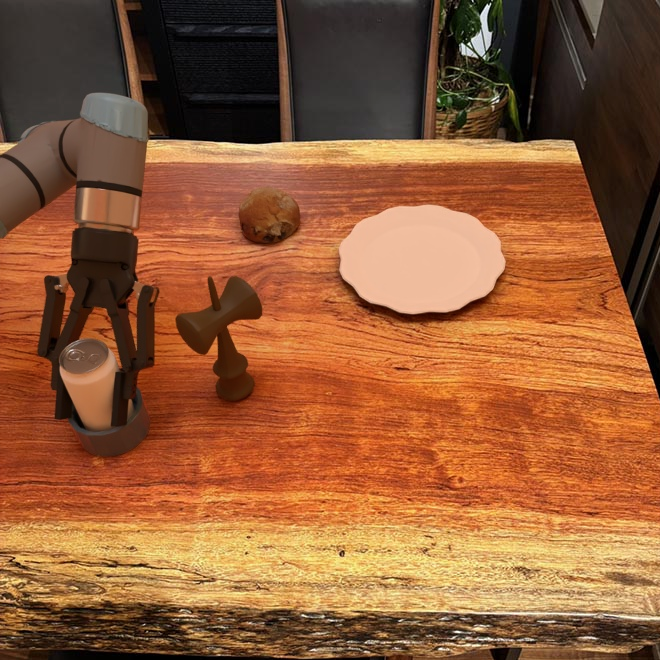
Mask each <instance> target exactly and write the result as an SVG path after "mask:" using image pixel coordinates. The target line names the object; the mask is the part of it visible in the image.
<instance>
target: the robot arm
mask: <svg viewBox="0 0 660 660" xmlns="http://www.w3.org/2000/svg"><path fill="white" fill-rule="evenodd" d="M79 116H80V117H79V118H76V119H67V120H57V121H56V120H51V121H43V122H40V123H39V124H36V125H33V126H30V127H29V128H27V129H25V131H24V132H23V133H22V134H21V136H20V137H19V140H18V142H17V144H15V145H13V146H12V147H11V148H9V149H8V150H6V151H4V152H3V153H1V154H0V239H1V240H2V239H4V238H6V237H7V235H8V234H9V233H10V232H11V231H13V230H14V229H16V228H17V227H18V226H19V225H21V224H23V223H24V222H25V221H27V220H28V219H29V218H30V217H32V216H34V215H35V214H36V213H38V212H39V211H40V210H43V209H44V208H46V207H47V206H49V204H51V203H53V202H54V201H56V200H57V199H58V198H60V197H61V196H62V195H64V194H65V193H67V192H68V191H69V190H71V189H72V188H74V187H75V195H74V196H75V197H74V207H73V218H72V222H73V223H75V224H76V225H77V227H75V228H74V229H73V230H72V232H71V243H70V244H71V245H70V260H71V264H70V267H69V269H67V272H66V273H65V274H59V275H51V274H47V275H45V276H44V278H43V283H44V289H45V300H44V307H43V313H42V319H41V325H40V331H39V337H38V344H37V349H36V354H37V356H38V357H39V358H44V359H46V360H48V361H49V363H51V375H50V376H51V377H50V388H51V391H55V403H54V405H55V406H54V417H53V420H55V421H56V420H57V421H61V420H68V418H72V407H73V401H72V399H71V397H70V395H69V392H68V390H67V388H66V386H65V384H64V382H63V379H62V377H61V374H60V363H59V357H60V354H61V352H62V351H63V350H64V349H65V348H66V347H67V346H68V345H69V344H71V343H73V342H75V341H77V340H80V339H81V336H82V333H83V330H84V328H85V326H86V323H87V321H88V319H89V316H90V315H91V314H92V313H93V312H94V309H99V308H100V309H103V310H106V314H107V316H108V317H109V320H110V323H111V327H112V331H113V336H114V340H115V345H116V349H117V354H118V358H119V362H120V367H121V368H120V369H119V370H120V372H115V380H114V392H113V404H112V416H111V426H112V427H119V426H123V425H127V415H128V403H129V399H134V398H135V396H136V389H137V387H138V376H139V373H140V372H141V371H143V370H147V369H152V368H153V367H154V366H155V364H156V347H155V346H156V305H157V304H156V303H157V301H158V298H159V295H160V288H159V287H158V286H156V285H149V284H146V283H144V282H141V281H139V278H138V275H137V272H136V268H137V264H138V253H139V241H140V239H139V238H138V236H137V235H135V233H136V232H139V230H140V228H141V213H142V200H143V192H144V180H145V170H146V162H147V151H148V143H149V136H148V128H149V127H148V125H149V124H148V123H149V112H148V109H147V107H146V106H145V105H144V104H143V103H141V102H140V101H138V100H136V99H134V98H131V97H128V96H125V95H122V94H121V95H120V94H116V93H109V92H91V93H88V94H86V96H85V98H84V99H83V101H82V106H81V110H80V111H79ZM69 286H70V287H71V288H70V287H69ZM69 289H72V291H73V293H74V295H73V297H72V300H71V302H70V305H69V312H68V314H67V315H68V316H67V317H66V320H65V323H64V325H63V324H62V323H63V318H64V312H65V306H66V300H67V297H66V296H67V294H66V293H67V292H68V291H69ZM133 292H135V295H134V296H135V300H136V301H137V303H136V342H135V338H134V334H133V330H132V325H131V321H130V309H129V308H130V307H129V305H128V299H129V297H130V296H131V295H132V294H133ZM62 325H63V328H62Z"/></svg>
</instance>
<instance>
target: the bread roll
mask: <svg viewBox="0 0 660 660" xmlns="http://www.w3.org/2000/svg"><path fill="white" fill-rule="evenodd" d="M238 206H239V207H238V220H239V225H240V226H239V227H240V230H241V232H242V234H243V235H244V236H245V237H246V238H248V240H250V241H251V242H252V241H253V242H255V243H264V244H271V243H274V244H275V243H277V242H280V241H284V239H287V238H288V237H289V236H291V235H292V234H293V233H294V232H295V231H296V230H297V229H298V227H299V226H300V224H301V213H300V206H299V204H298V202H297V201H296V200H295V198H294V197H293V196H291V195H290V194H289V193H287V191H284V190H283V189H279V188H276V187H270V186H265V187H264V186H263V187H258V188H254V189H252V190H251V191H250V192H249V193H248V194H247V195H246V196H245V198H244V199H243V200H242V201H241V202H240V204H239V205H238Z"/></svg>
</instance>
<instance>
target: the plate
mask: <svg viewBox="0 0 660 660" xmlns="http://www.w3.org/2000/svg"><path fill="white" fill-rule="evenodd" d="M337 251H338V255H339V259H340V262H339V263H340V264H339V270H338V271H339V273H340V276H341V278H342V280H343V281H344V282H345V283H347V284H348V285H349V286H350V287H352V288H353V289H354V291H355V292H356V294H357V296H358V297H359V298H361V299H362V300H363V301H365V302H367V303H369V304H371V305H375V306H380V307H384V308H388V309H389V310H391V311H394V312H396V313H398V314H403V315H409V316H415V315H422V314H429V313H432V314H433V313H434V314H435V313H436V314H448V313H451V312H452V313H453V312H457V311H459V310H461V309H463V308H464V307H466V306H467V305H469V304H471V303H472V302H476V301H478V300H481V299H484V298H485V297H487V296H488V295H489V294H490V293H491V292H492V291H493V290H494V288H495V285H496V283H497V280H498V278H499V277H500V276H501V275H502V274H503V273H504V271H505V268H506V263H507V262H506V258H505V256H504V254H503V252H502V241H501V239H500V237H498V235H497V233H496V232H494V231H492V230H491V229H489V228H487V227H486V226H485V225H484V224H483V223H482V222H481V221H480V220H479V219H478V217H475V216H473V215H471V214H469V213H467V212H461V211H456V210H452V209H451V208H450V209H449V208H447V207H444V206H442V205H436V204H422V205H414V206H411V205H410V206H409V205H407V206H406V205H398V206H394V207H389V208H386V209H385V210H383V211H381V212H379V213H378V214H375V215H372V216H369V217H365V218H363V219H361V220H360V221H359V222H357V223H356V224H354V226H353V227H352V230H351V232H350V233H349V234H348V235H347V236H346V237H345V238H344V239H342V240H341V243H340V244H339V247H338V250H337Z"/></svg>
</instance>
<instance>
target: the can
mask: <svg viewBox="0 0 660 660" xmlns="http://www.w3.org/2000/svg"><path fill="white" fill-rule="evenodd" d="M59 363H60V374H61V377H62V379H63V382H64V384H65V386H66V388H67V390H68V392H69V395H70V397H71V399H72V401H73V403H74V405H75V408H76V410H77V412H78V414H79V416H80V418H81V420H82V422H83V424H84V426H85V428H86V430H88V431H91V432H103V431H107V430H110V429H114V428H117V427H112V426H111V416H112V404H113V392H114V380H115V372H120V370H119V369H121V368H120V365H119V363H118V360H117V358H116V355H115V354H114V351H112V350H111V349H110V348H109V347H108V345H107V344H106V343H105V342H104V341H102V340H100V339H99V338H92V337H86V338H79V340H77V341H75V342H73V343H71V344H69V345H68V346H67V347H66V348H65V349H64V350H63V351H62V352H61V354H60V357H59ZM134 412H135V408H134V405H133V403H132V400H131V399H129V403H128V415H127V421H128V419H129V418H130V417H131V416H132V415H133V413H134Z"/></svg>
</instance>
